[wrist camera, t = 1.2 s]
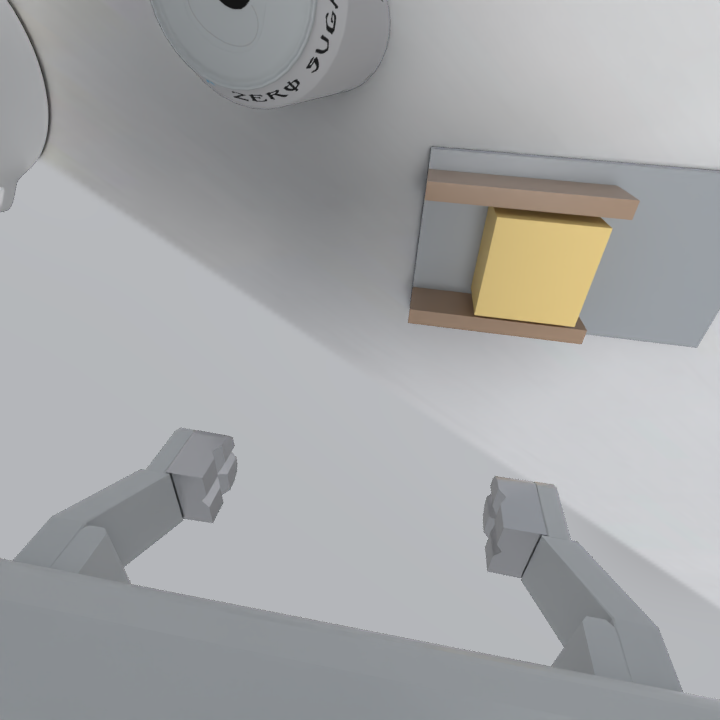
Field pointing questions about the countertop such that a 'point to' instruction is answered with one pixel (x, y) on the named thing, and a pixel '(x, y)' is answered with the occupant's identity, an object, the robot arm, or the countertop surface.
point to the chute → (619, 260)
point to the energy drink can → (277, 45)
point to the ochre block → (537, 265)
